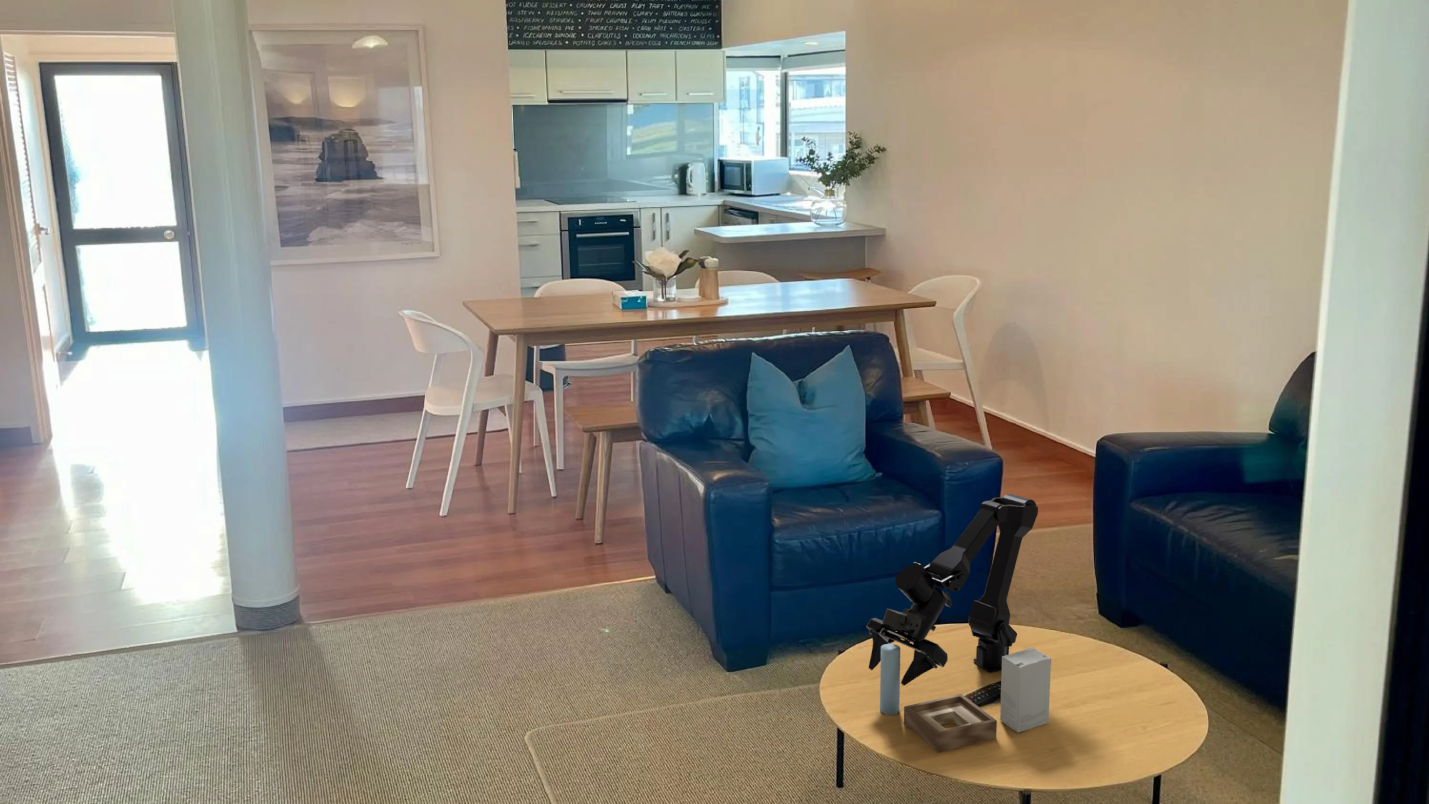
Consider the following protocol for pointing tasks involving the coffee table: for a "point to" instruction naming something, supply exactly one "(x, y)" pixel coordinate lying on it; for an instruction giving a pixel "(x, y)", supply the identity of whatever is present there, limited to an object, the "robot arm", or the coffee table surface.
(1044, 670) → the skincare box
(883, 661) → the peg
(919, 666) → the robot arm
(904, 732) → the coffee table surface
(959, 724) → the bore box
